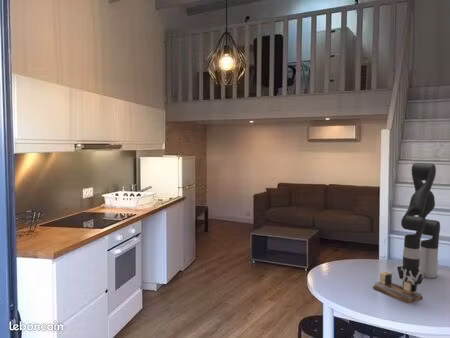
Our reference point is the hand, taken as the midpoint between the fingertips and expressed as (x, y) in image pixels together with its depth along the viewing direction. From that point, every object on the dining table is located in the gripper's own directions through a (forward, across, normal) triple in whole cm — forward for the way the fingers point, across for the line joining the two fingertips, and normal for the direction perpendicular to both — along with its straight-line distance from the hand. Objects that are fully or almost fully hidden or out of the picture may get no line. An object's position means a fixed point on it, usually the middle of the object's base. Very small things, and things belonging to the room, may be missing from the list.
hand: (409, 289), depth 187 cm
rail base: (+5, +7, 0) cm, 8 cm away
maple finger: (+3, 0, 0) cm, 3 cm away
